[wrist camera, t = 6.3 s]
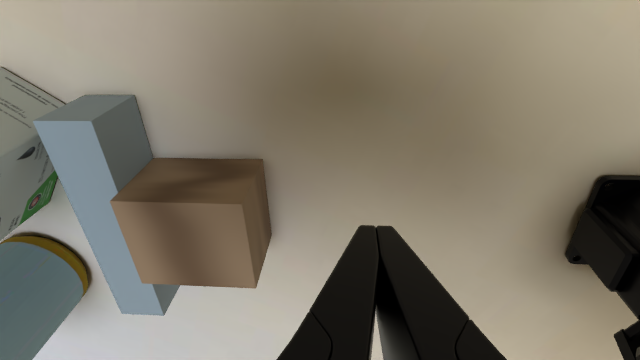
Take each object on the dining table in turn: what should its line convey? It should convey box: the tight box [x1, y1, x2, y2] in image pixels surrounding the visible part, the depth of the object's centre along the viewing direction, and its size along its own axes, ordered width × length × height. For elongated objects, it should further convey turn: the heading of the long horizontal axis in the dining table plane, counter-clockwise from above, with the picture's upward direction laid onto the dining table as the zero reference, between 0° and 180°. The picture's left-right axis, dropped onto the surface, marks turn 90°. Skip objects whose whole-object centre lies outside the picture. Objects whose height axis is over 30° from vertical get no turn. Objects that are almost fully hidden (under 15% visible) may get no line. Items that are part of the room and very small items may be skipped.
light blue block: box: [33, 95, 180, 316], centre depth 23 cm, size 3×14×4 cm, turn 1°
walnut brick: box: [110, 158, 272, 288], centre depth 22 cm, size 7×6×5 cm
